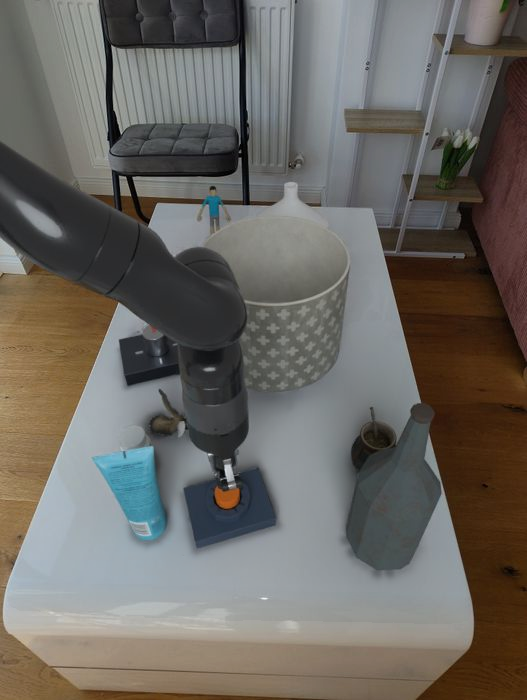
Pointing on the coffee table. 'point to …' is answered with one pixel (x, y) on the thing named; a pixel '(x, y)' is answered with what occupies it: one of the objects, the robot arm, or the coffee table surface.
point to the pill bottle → (133, 438)
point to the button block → (228, 510)
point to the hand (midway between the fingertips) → (224, 483)
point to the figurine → (213, 209)
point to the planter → (287, 297)
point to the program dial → (155, 341)
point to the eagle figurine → (168, 420)
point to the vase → (294, 207)
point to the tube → (135, 489)
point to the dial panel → (146, 361)
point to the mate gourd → (372, 441)
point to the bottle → (394, 498)
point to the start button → (227, 498)
